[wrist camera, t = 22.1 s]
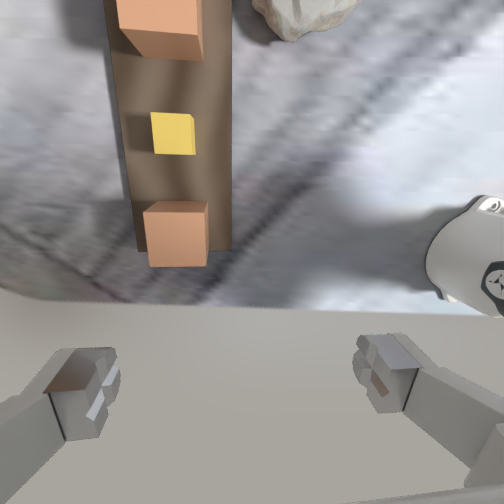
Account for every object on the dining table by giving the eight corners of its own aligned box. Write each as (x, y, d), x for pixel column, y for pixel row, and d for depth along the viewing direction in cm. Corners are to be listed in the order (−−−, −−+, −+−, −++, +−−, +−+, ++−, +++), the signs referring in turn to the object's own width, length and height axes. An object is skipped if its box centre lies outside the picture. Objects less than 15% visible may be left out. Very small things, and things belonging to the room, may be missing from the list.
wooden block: (207, 201, 34) (204, 212, 28) (209, 246, 36) (206, 266, 30) (158, 200, 33) (142, 212, 27) (162, 246, 36) (149, 267, 29)
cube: (194, 118, 30) (190, 114, 27) (195, 154, 32) (192, 154, 28) (159, 117, 30) (150, 112, 26) (162, 153, 31) (154, 153, 28)
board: (231, -39, 26) (232, -47, 25) (231, 248, 38) (231, 250, 37) (99, -55, 25) (94, -64, 24) (141, 248, 37) (138, 251, 36)
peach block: (200, -14, 26) (193, -68, 20) (203, 61, 28) (197, 34, 22) (136, -20, 25) (106, -80, 19) (143, 57, 28) (119, 28, 21)
